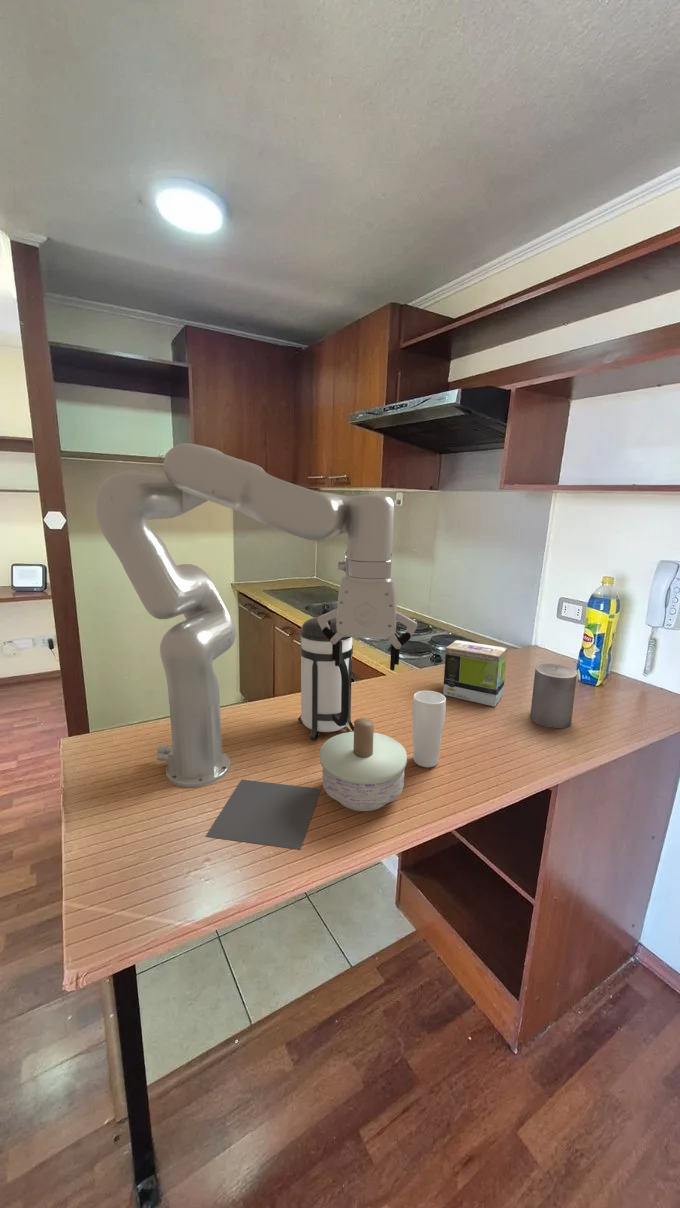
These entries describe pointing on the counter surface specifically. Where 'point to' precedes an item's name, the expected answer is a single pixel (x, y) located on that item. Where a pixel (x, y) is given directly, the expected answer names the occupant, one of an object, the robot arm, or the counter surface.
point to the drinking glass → (427, 727)
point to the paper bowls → (362, 792)
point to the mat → (266, 814)
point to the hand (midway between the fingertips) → (365, 665)
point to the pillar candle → (553, 695)
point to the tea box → (475, 672)
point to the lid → (363, 755)
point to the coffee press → (324, 680)
